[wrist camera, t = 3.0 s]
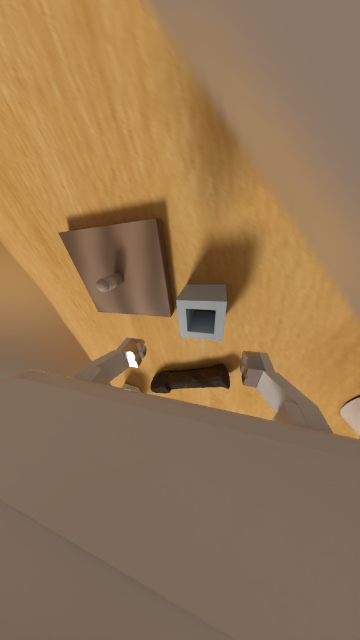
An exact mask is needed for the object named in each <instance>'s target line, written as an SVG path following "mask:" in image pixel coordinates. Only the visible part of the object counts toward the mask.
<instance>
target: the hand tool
mask: <svg viewBox="0 0 360 640" xmlns="http://www.w3.org/2000/svg"><path fill="white" fill-rule="evenodd" d="M199 387H202V388H205V387H225V388H227V389H229V387H230V377H229V373H228V371H227V368H226V367H225V365H224V364H221V365H220V366H216V365H214V366H213V367H212V368H205V369H197V370H189V371H181V372H172V371H169V370H168V371H164V372H161V373H159V374H157V375H155V376H154V378H153V380H152V382H151V391H152V392H155V393H170V391H171V389H180V388H199Z"/></svg>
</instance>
